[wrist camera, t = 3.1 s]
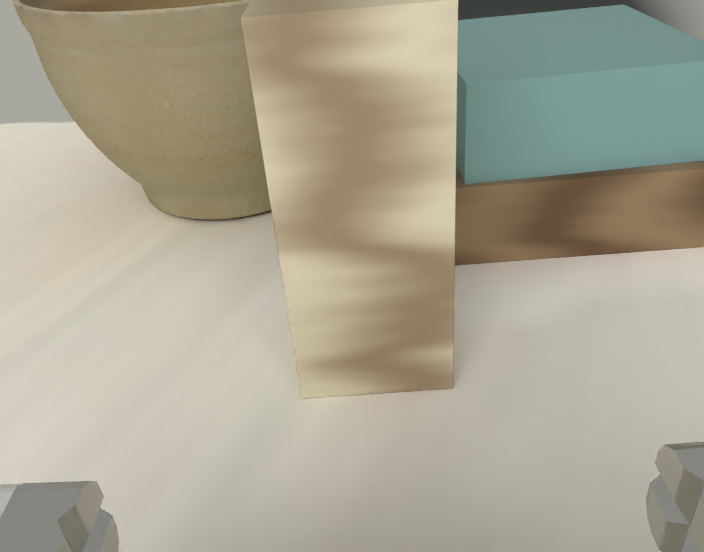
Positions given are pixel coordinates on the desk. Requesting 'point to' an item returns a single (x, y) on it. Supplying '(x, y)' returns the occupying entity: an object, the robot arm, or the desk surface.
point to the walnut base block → (580, 214)
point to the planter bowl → (160, 95)
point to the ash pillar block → (361, 185)
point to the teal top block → (575, 94)
